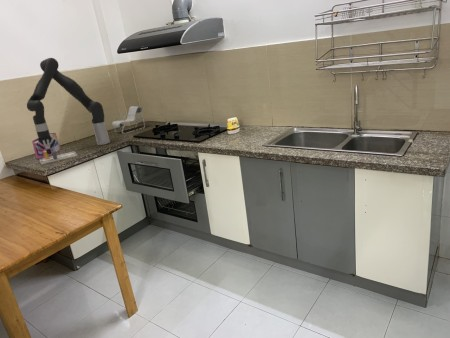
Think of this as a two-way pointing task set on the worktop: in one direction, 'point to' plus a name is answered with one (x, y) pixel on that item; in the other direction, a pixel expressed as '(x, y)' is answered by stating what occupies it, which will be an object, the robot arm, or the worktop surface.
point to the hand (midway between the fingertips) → (49, 154)
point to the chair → (129, 118)
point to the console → (60, 157)
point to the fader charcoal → (54, 154)
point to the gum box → (39, 150)
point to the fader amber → (46, 155)
